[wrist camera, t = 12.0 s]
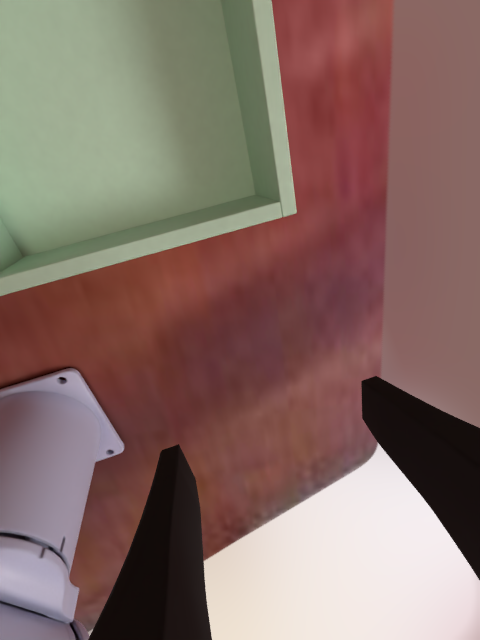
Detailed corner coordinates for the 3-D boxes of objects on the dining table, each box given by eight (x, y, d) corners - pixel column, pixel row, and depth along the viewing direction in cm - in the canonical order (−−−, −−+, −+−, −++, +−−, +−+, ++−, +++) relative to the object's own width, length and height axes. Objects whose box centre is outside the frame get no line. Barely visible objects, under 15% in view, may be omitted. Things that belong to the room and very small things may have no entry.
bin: (20, 271, 16) (-25, 303, 12) (-223, -126, 9) (-486, -328, 6) (267, 203, 17) (297, 213, 13) (204, -183, 11) (227, -378, 7)
